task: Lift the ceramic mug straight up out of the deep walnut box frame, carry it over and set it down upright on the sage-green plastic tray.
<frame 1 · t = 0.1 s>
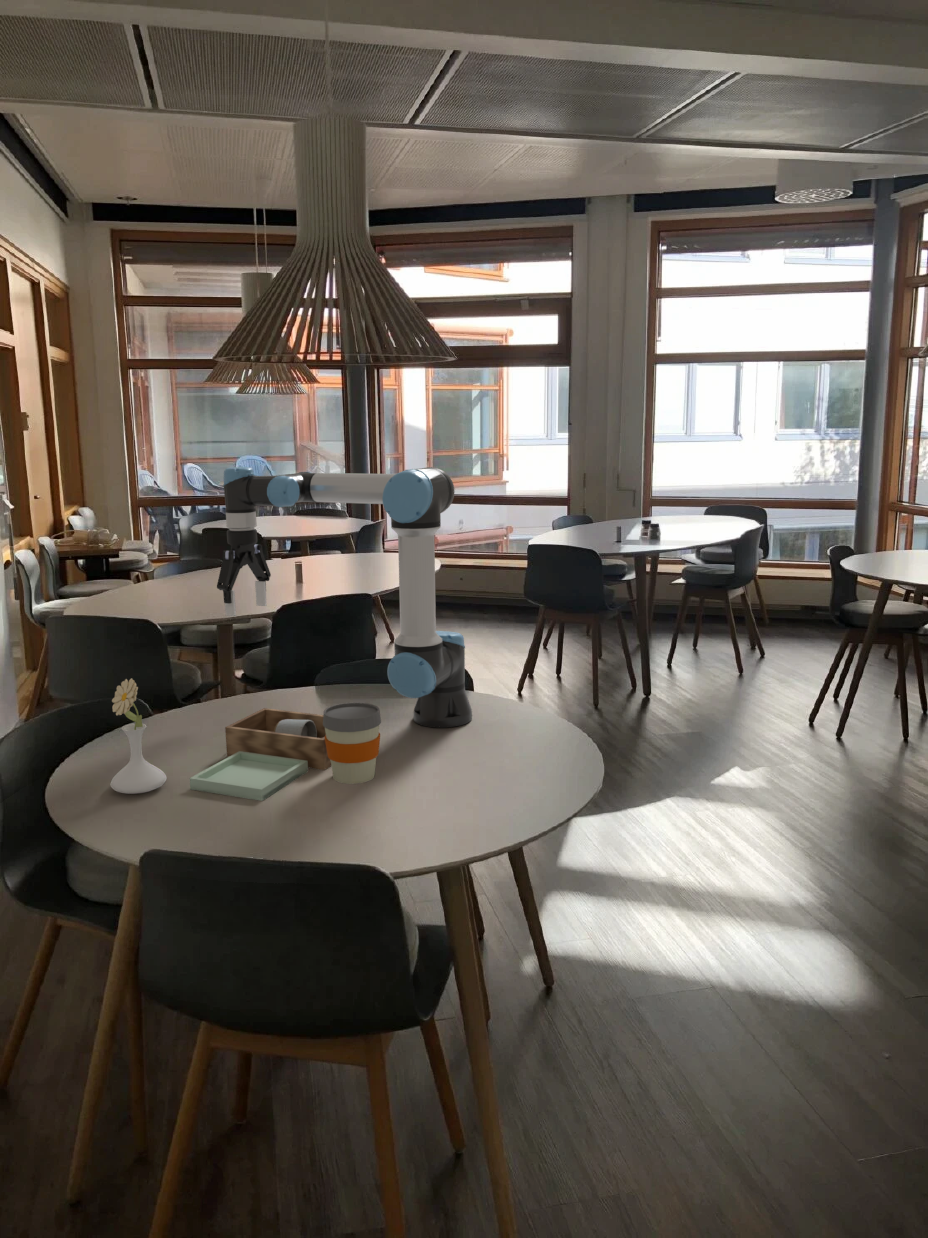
hand: (246, 610, 254), 28 cm above the table, fingers open, 13 cm apart
walnut box frame: (293, 751, 230), on the table
ceramic mug: (293, 753, 230), resting in walnut box frame
reusable coffee cup: (354, 777, 214), on the table
sage tray: (250, 780, 212), on the table
flower in vase: (139, 790, 208), on the table
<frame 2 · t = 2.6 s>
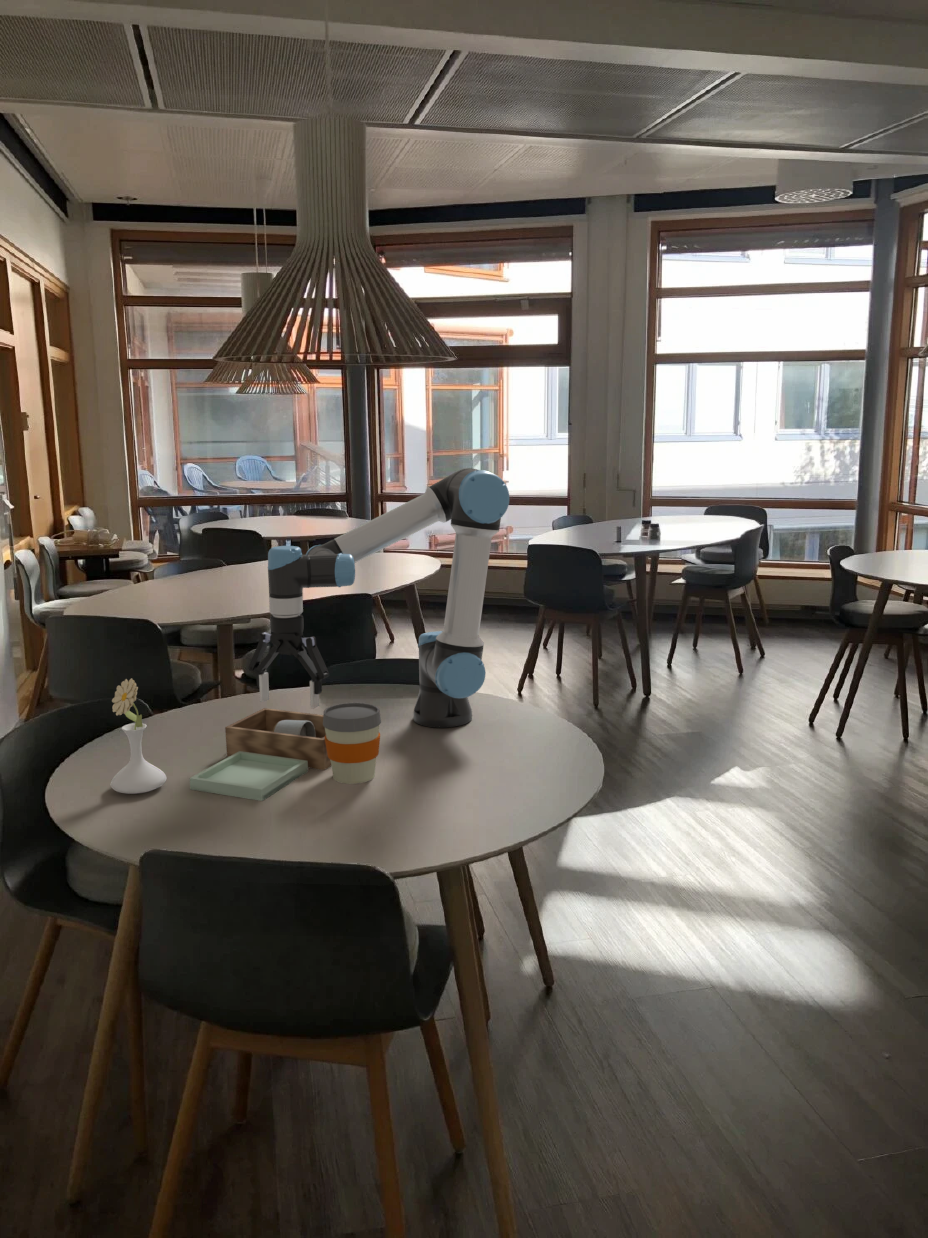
hand: (289, 704, 228), 12 cm above the table, fingers open, 13 cm apart
nothing on the table moved.
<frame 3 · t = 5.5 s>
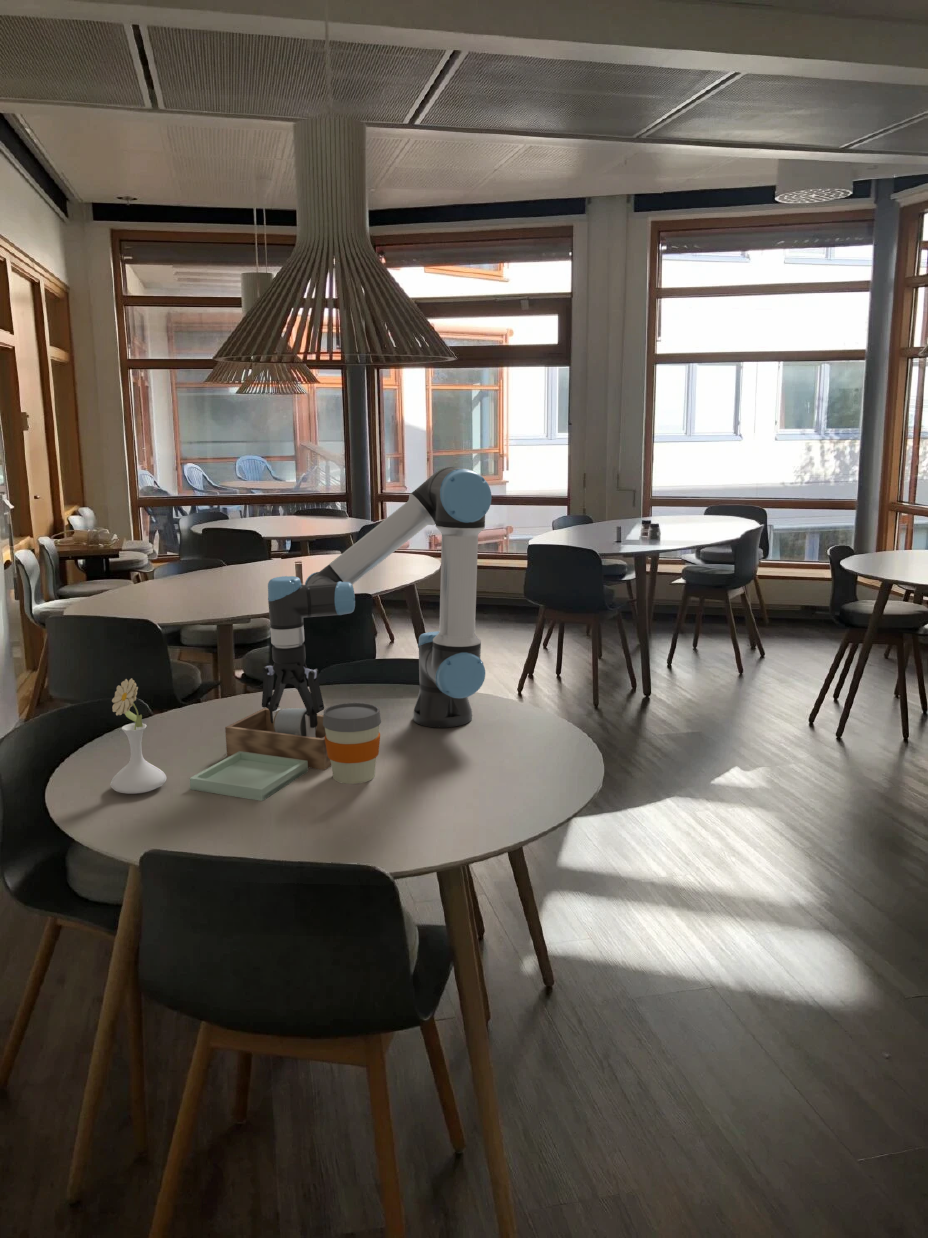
hand: (295, 738, 229), 3 cm above the table, fingers closed on ceramic mug, 8 cm apart
ceramic mug: (293, 742, 228), point 3 cm above the table, touching gripper
everything else where it was.
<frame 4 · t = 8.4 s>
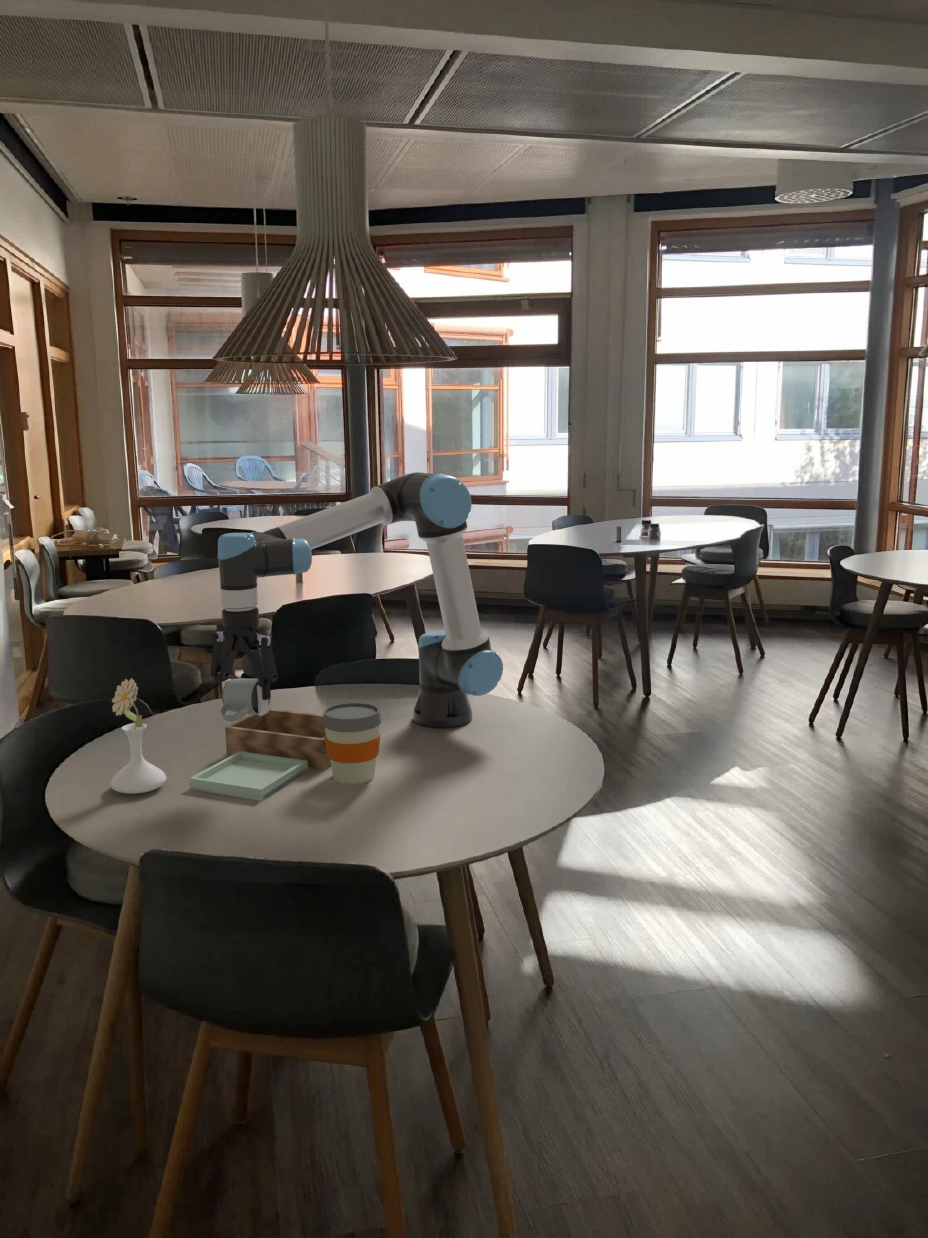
hand: (246, 711, 209), 16 cm above the table, fingers closed on ceramic mug, 8 cm apart
ceramic mug: (244, 715, 208), point 15 cm above the table, touching gripper
everything else where it was.
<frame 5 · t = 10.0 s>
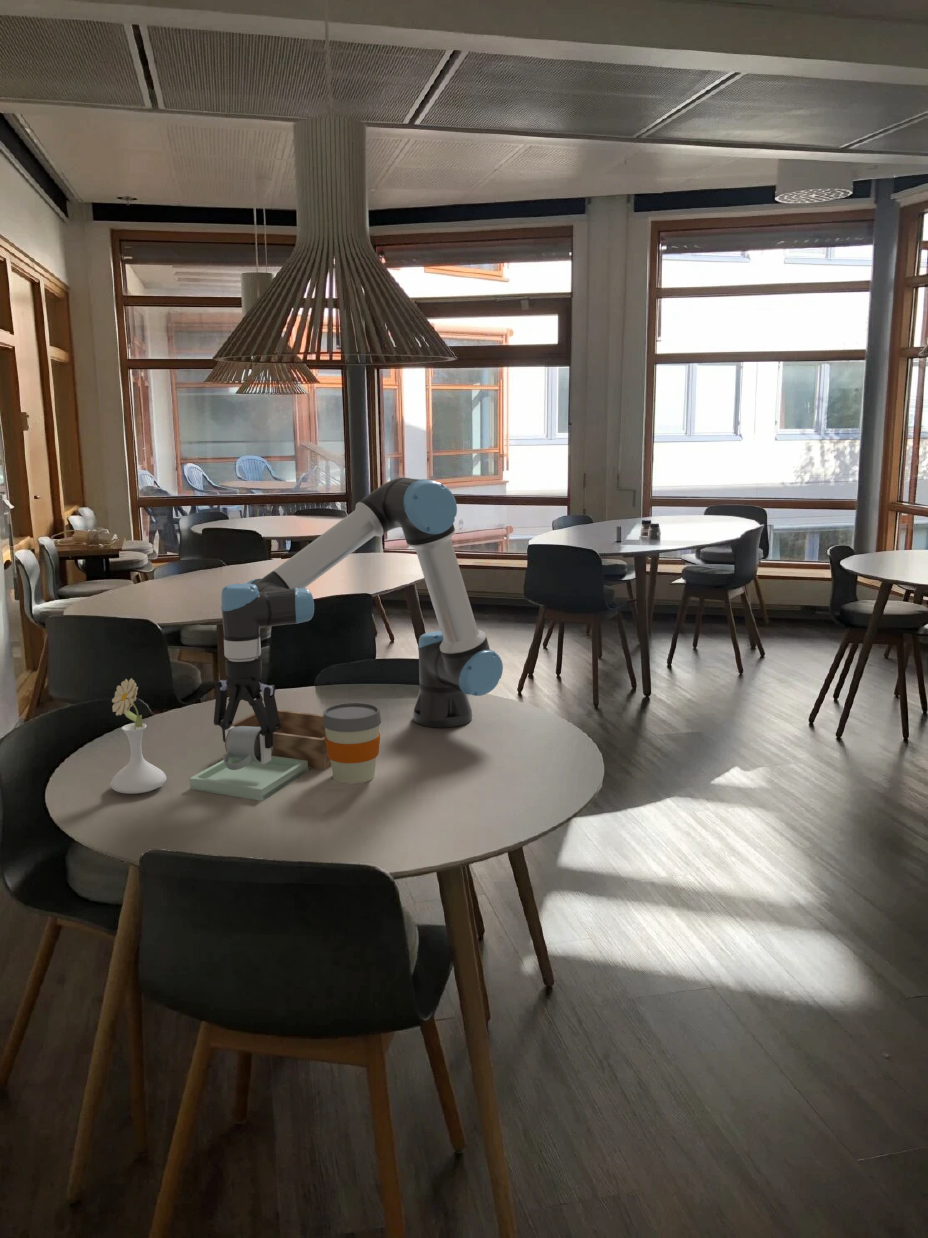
hand: (248, 759, 211), 5 cm above the table, fingers closed on ceramic mug, 8 cm apart
ceramic mug: (247, 763, 210), point 4 cm above the table, touching gripper
everything else where it was.
when the fingers open (2 cm above the table, at t = 11.5 s): ceramic mug stays where it is, resting on sage tray.
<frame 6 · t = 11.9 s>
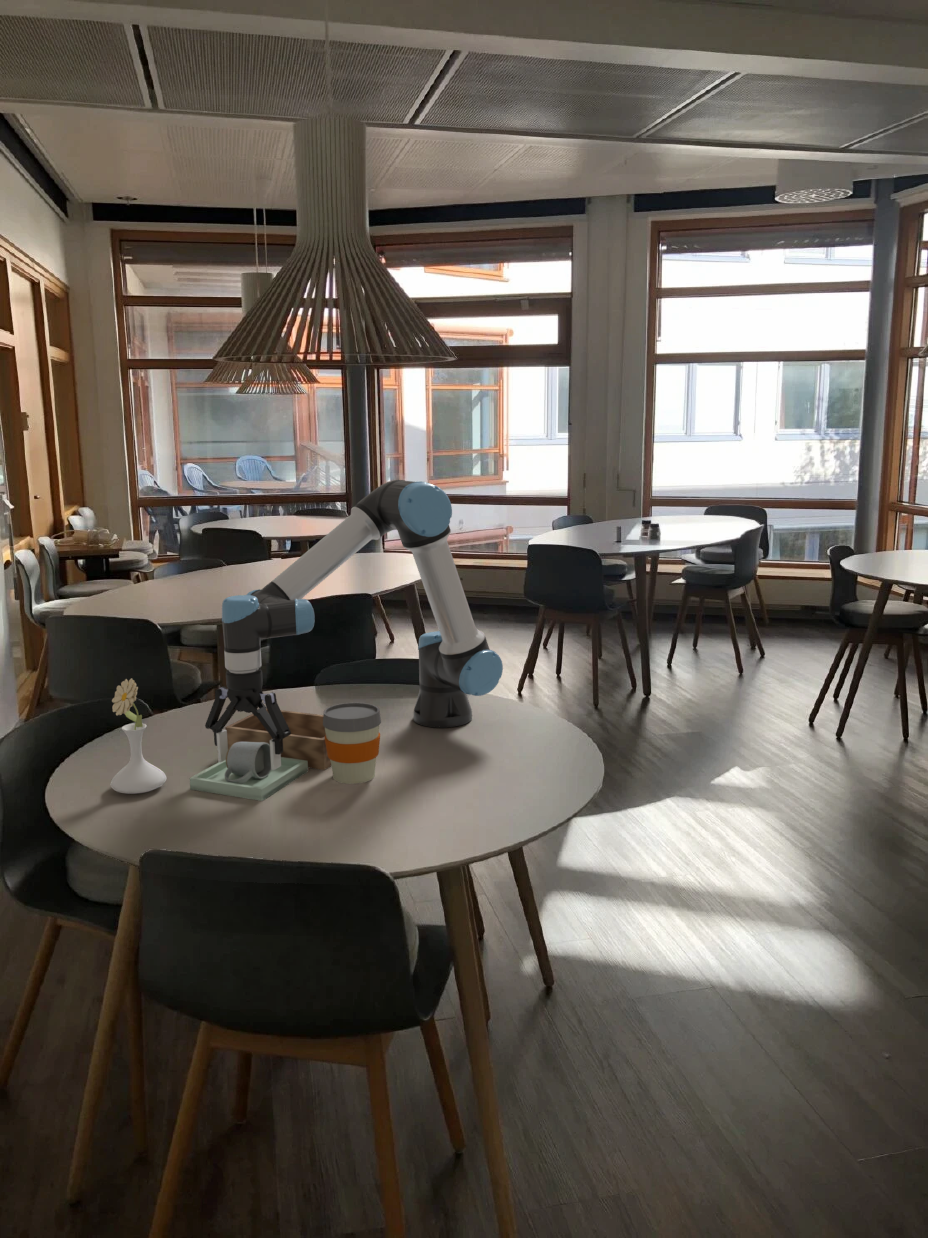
hand: (249, 764, 212), 4 cm above the table, fingers open, 13 cm apart
ceramic mug: (247, 778, 211), point 1 cm above the table, touching sage tray
everything else where it was.
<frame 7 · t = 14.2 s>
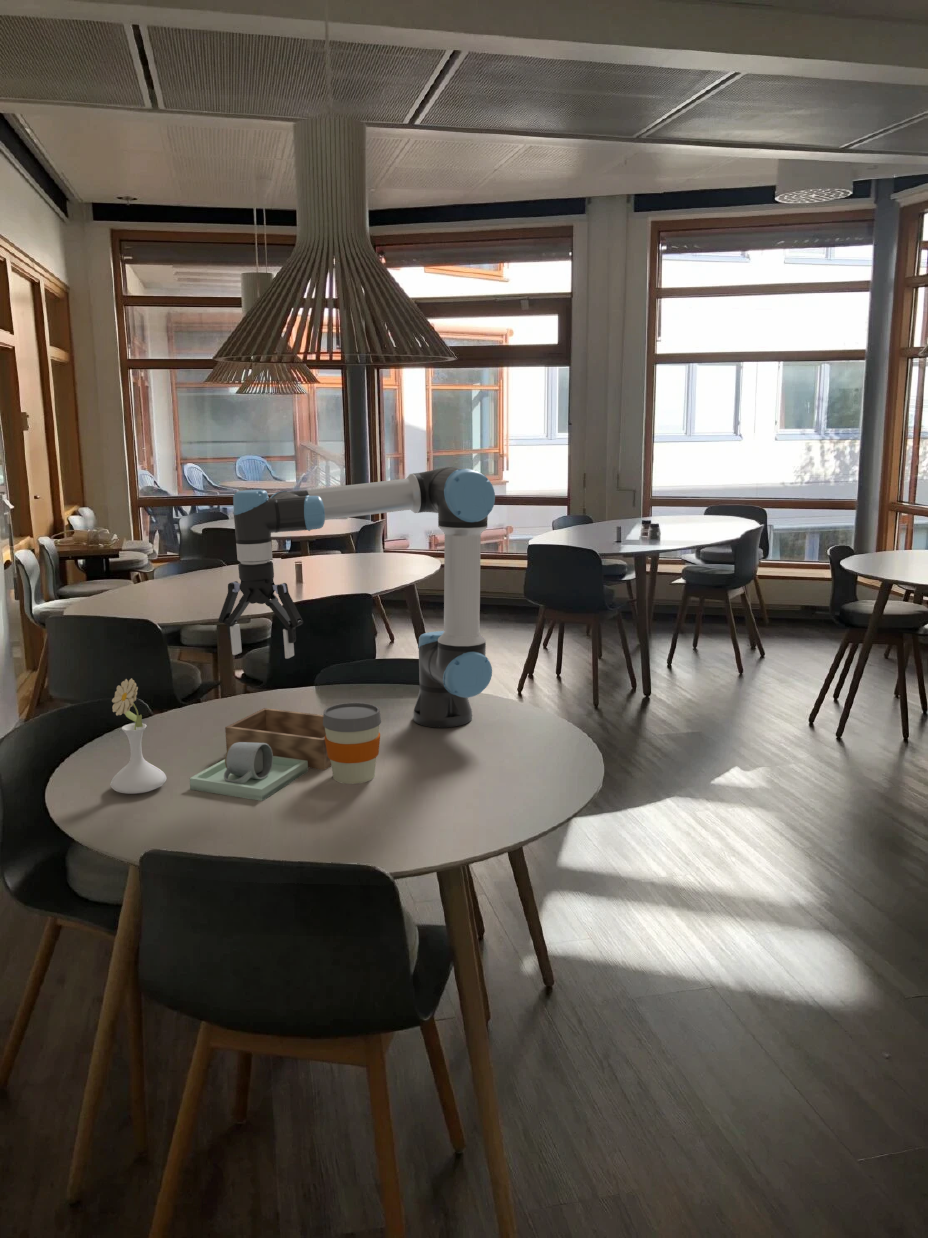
hand: (263, 655, 219), 25 cm above the table, fingers open, 13 cm apart
nothing on the table moved.
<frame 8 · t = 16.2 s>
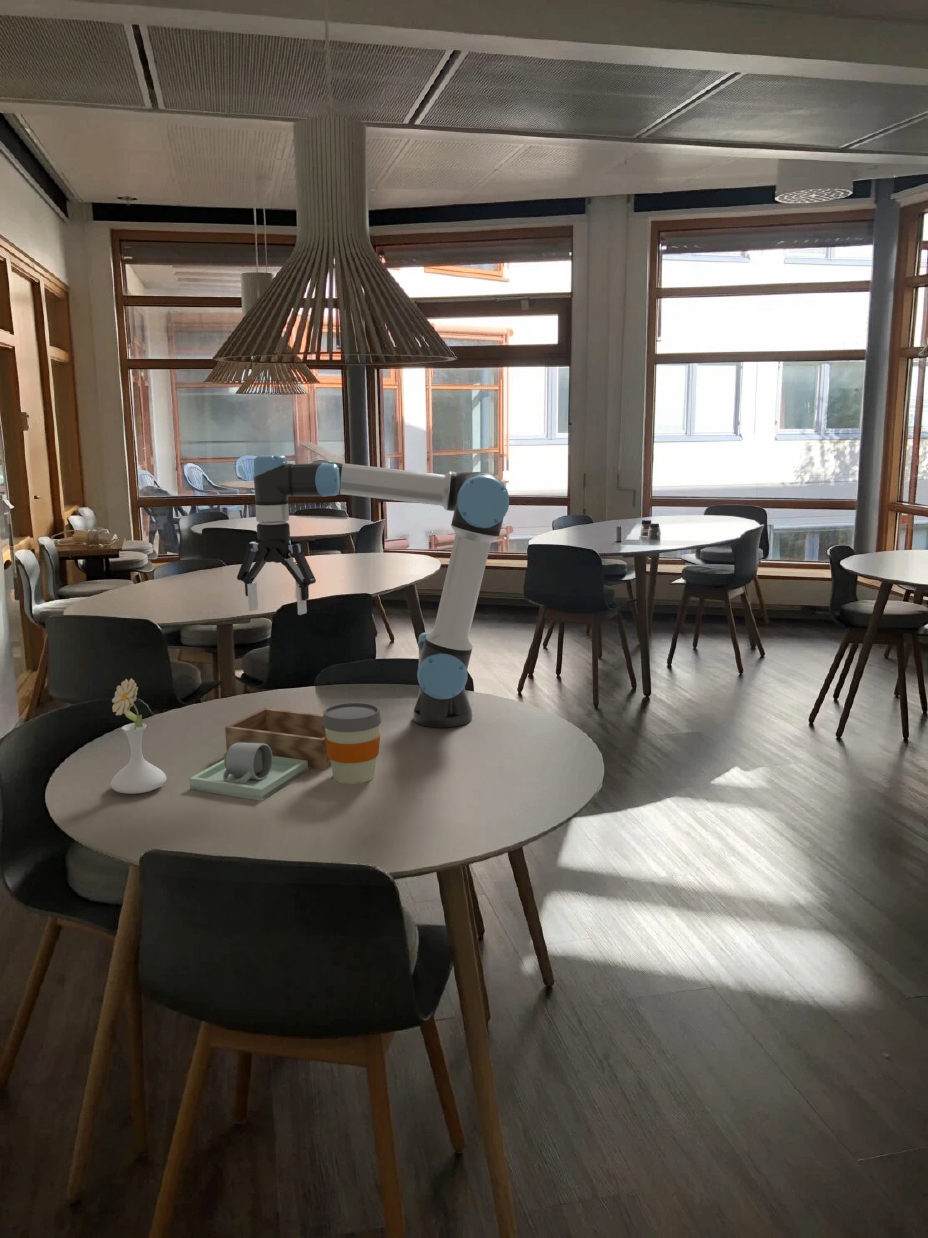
hand: (277, 611, 232), 32 cm above the table, fingers open, 13 cm apart
nothing on the table moved.
at the end: ceramic mug inside the target area on the sage tray (1.8 cm from its centre), point 0.8 cm above the sage tray's base; ceramic mug tilted 0°; the gripper is holding nothing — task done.
